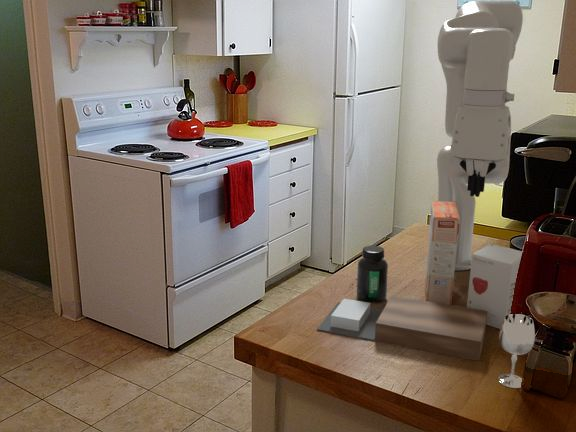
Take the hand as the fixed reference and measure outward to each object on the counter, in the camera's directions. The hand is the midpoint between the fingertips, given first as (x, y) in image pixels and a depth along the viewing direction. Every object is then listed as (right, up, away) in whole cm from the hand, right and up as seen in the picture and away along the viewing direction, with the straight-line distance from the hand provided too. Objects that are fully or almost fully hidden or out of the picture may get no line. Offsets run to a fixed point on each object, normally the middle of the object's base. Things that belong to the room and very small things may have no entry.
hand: (475, 194), depth 118 cm
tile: (-23, -24, +11) cm, 35 cm away
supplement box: (+8, -26, +14) cm, 31 cm away
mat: (-22, -27, +12) cm, 36 cm away
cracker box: (-1, -23, +25) cm, 34 cm away
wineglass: (+3, -34, -10) cm, 35 cm away
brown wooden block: (-7, -28, +6) cm, 30 cm away
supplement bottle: (-17, -23, +23) cm, 37 cm away
